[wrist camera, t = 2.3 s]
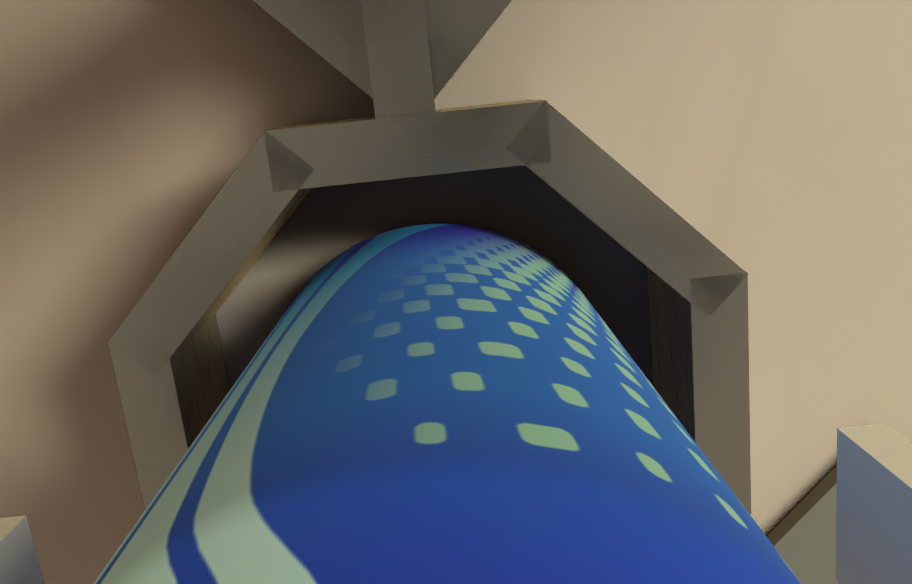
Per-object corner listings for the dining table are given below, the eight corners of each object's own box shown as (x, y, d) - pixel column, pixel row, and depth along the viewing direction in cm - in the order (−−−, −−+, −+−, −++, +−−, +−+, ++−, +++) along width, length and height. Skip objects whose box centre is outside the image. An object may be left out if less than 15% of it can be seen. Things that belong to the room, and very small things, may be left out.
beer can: (668, 363, 21) (1385, 1183, 5) (451, 577, 22) (489, 1745, 6) (428, 143, 19) (395, 341, 4) (212, 387, 20) (-503, 1306, 5)
